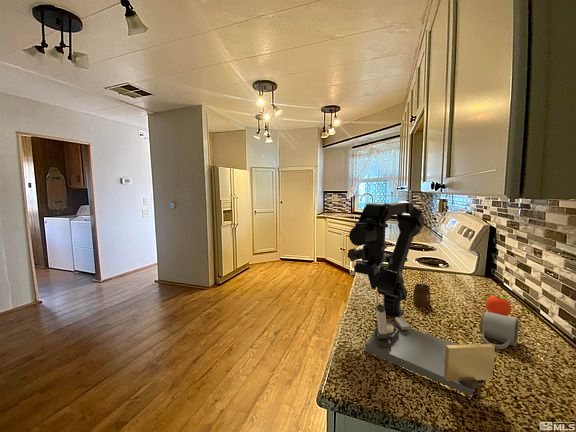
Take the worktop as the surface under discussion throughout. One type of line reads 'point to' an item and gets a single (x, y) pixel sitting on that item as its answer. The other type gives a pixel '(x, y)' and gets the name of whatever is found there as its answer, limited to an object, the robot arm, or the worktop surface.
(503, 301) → the red tomato
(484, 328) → the ceramic mug
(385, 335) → the steel lever
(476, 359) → the brass paddle
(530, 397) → the worktop surface
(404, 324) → the block
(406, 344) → the panel
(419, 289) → the utensil holder
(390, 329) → the push button
